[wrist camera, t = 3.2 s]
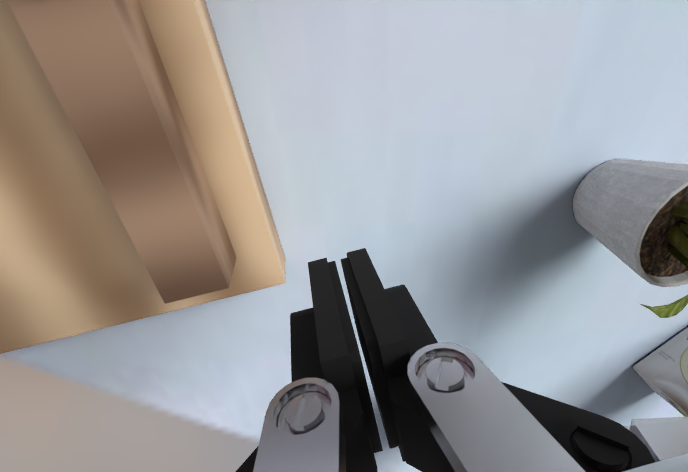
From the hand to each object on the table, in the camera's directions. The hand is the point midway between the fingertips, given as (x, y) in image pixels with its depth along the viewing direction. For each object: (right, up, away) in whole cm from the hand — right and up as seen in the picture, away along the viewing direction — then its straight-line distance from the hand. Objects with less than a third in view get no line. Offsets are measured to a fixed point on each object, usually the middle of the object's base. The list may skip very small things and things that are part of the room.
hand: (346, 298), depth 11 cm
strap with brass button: (-9, +7, +6) cm, 12 cm away
